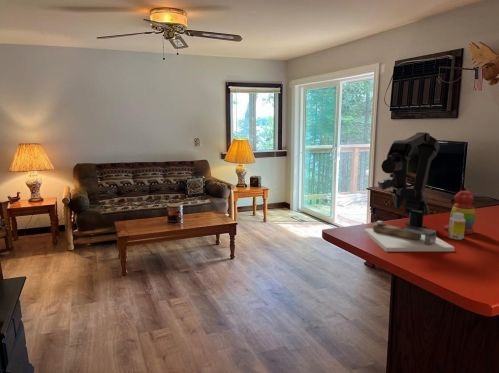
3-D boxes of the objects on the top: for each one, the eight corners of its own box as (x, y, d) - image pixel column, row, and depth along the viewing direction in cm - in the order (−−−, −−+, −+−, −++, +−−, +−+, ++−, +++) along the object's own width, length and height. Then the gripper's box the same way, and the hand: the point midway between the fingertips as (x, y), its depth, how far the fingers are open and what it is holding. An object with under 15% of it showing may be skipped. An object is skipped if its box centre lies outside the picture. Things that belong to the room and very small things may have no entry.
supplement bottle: (466, 239, 148) (469, 214, 146) (456, 240, 146) (459, 215, 144) (454, 235, 153) (457, 211, 151) (444, 236, 151) (447, 212, 149)
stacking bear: (460, 226, 166) (464, 188, 163) (480, 233, 156) (485, 192, 153) (441, 228, 163) (445, 189, 160) (460, 235, 153) (465, 193, 150)
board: (363, 231, 157) (364, 218, 156) (421, 231, 158) (422, 218, 157) (386, 251, 133) (387, 236, 132) (454, 251, 133) (455, 235, 132)
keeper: (403, 239, 142) (404, 227, 141) (409, 236, 145) (410, 225, 145) (429, 245, 135) (430, 233, 134) (435, 242, 138) (436, 230, 137)
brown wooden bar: (370, 230, 152) (371, 224, 152) (376, 228, 156) (376, 222, 155) (416, 240, 139) (417, 233, 139) (421, 237, 143) (422, 231, 142)
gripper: (372, 168, 159) (370, 203, 162) (389, 174, 141) (386, 214, 143) (397, 168, 160) (395, 204, 162) (418, 174, 141) (415, 214, 144)
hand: (397, 208), depth 153 cm, fingers closed
